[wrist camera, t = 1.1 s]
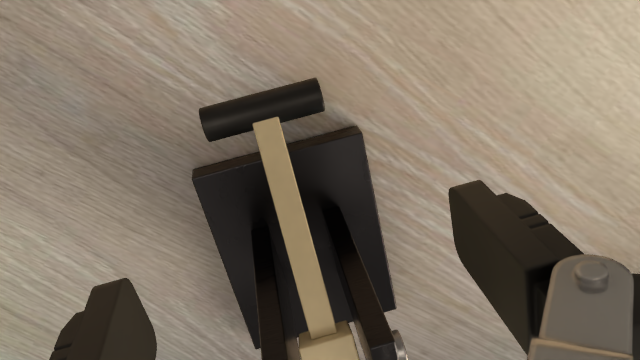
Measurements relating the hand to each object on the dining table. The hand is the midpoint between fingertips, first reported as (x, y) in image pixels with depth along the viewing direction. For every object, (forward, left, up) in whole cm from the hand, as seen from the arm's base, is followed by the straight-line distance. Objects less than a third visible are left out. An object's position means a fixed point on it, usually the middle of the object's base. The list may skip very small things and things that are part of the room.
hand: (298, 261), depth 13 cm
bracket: (+9, -3, -15) cm, 18 cm away
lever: (+5, -1, -9) cm, 10 cm away
